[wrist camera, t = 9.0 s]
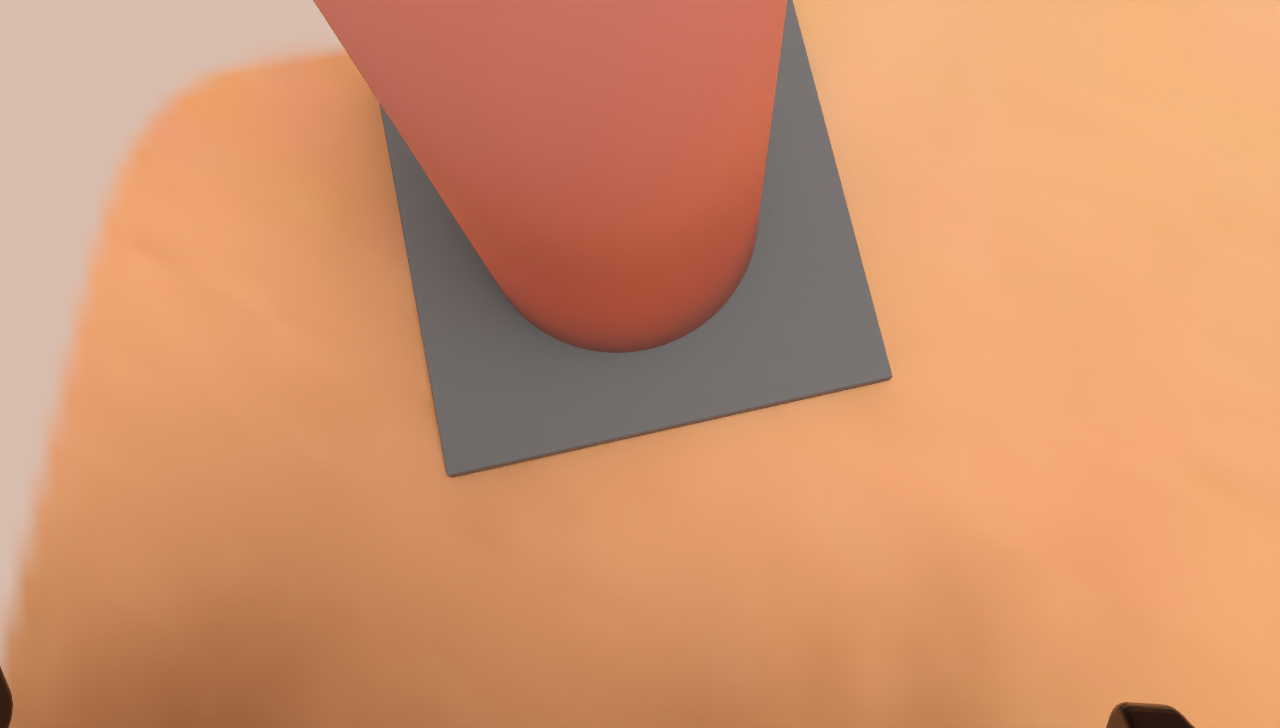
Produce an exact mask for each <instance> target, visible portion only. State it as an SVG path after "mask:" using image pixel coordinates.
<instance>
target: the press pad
mask: <svg viewBox="0 0 1280 728" xmlns="http://www.w3.org/2000/svg"><path fill="white" fill-rule="evenodd" d="M380 106H381V112H382V117H383V123H384V128H385V134H386V139H387V145H388V150H389V156H390V161H391V167H392V173H393V178H394V184H395V189H396V195H397V200H398V206H399V211H400V217H401V222H402V228H403V233H404V239H405V244H406V250H407V255H408V261H409V266H410V272H411V277H412V283H413V288H414V294H415V299H416V305H417V311H418V316H419V322H420V327H421V333H422V338H423V344H424V349H425V355H426V360H427V366H428V371H429V377H430V382H431V388H432V393H433V399H434V404H435V410H436V415H437V421H438V426H439V432H440V437H441V443H442V449H443V454H444V460H445V465H446V471H447V475H448V476H450V477H456V476H460V475H465V474H469V473H474V472H478V471H483V470H487V469H492V468H496V467H501V466H505V465H510V464H514V463H519V462H523V461H528V460H532V459H537V458H541V457H546V456H550V455H555V454H559V453H564V452H568V451H573V450H577V449H582V448H586V447H591V446H595V445H600V444H604V443H609V442H613V441H618V440H622V439H627V438H631V437H636V436H640V435H645V434H649V433H654V432H658V431H663V430H667V429H672V428H676V427H681V426H685V425H690V424H694V423H699V422H703V421H708V420H712V419H717V418H721V417H726V416H730V415H735V414H739V413H744V412H748V411H753V410H757V409H762V408H766V407H771V406H775V405H780V404H784V403H788V402H793V401H797V400H802V399H806V398H811V397H815V396H820V395H824V394H829V393H833V392H838V391H842V390H847V389H851V388H856V387H860V386H865V385H869V384H874V383H878V382H883V381H887V380H890V379H891V377H892V374H891V370H890V366H889V362H888V359H887V355H886V351H885V347H884V343H883V340H882V336H881V332H880V328H879V325H878V321H877V317H876V313H875V310H874V306H873V302H872V298H871V295H870V291H869V287H868V283H867V280H866V276H865V272H864V268H863V264H862V261H861V257H860V253H859V249H858V246H857V242H856V238H855V234H854V231H853V227H852V223H851V219H850V216H849V212H848V208H847V204H846V200H845V197H844V193H843V189H842V185H841V182H840V178H839V174H838V170H837V167H836V163H835V159H834V155H833V152H832V148H831V144H830V140H829V136H828V133H827V129H826V125H825V121H824V118H823V114H822V110H821V106H820V103H819V99H818V95H817V91H816V88H815V84H814V80H813V76H812V73H811V69H810V65H809V61H808V57H807V54H806V50H805V46H804V42H803V39H802V35H801V31H800V27H799V24H798V20H797V16H796V12H795V9H794V5H793V1H792V0H787V7H786V14H785V22H784V30H783V37H782V45H781V53H780V60H779V68H778V75H777V83H776V91H775V98H774V106H773V114H772V121H771V129H770V136H769V144H768V152H767V159H766V167H765V175H764V182H763V190H762V197H761V205H760V213H759V220H758V228H757V236H756V241H755V246H754V250H753V254H752V257H751V260H750V263H749V265H748V268H747V270H746V273H745V275H744V277H743V278H742V280H741V282H740V284H739V286H738V287H737V289H736V290H735V292H734V293H733V294H732V296H731V297H730V298H729V300H728V301H727V302H726V304H725V305H724V306H723V307H722V308H721V309H720V310H719V311H718V312H717V313H716V314H715V315H714V316H713V317H712V318H710V319H709V320H708V321H707V322H705V323H704V324H703V325H702V326H700V327H699V328H697V329H696V330H694V331H692V332H691V333H689V334H687V335H686V336H684V337H682V338H680V339H677V340H675V341H673V342H670V343H668V344H666V345H662V346H659V347H655V348H652V349H648V350H642V351H636V352H624V353H609V352H599V351H592V350H587V349H583V348H579V347H575V346H572V345H570V344H567V343H564V342H562V341H559V340H557V339H555V338H554V337H552V336H550V335H548V334H546V333H544V332H543V331H541V330H540V329H538V328H537V327H536V326H534V325H533V324H532V323H530V322H529V321H528V320H527V319H526V318H525V317H524V316H522V315H521V314H520V313H519V312H518V311H517V310H516V309H515V307H514V306H513V305H512V304H511V302H510V301H509V300H508V299H507V297H506V296H505V295H504V293H503V292H502V290H501V289H500V287H499V286H498V284H497V282H496V281H495V279H494V278H493V276H492V275H491V273H490V272H489V270H488V269H487V267H486V265H485V264H484V262H483V261H482V259H481V258H480V256H479V255H478V253H477V252H476V250H475V249H474V247H473V245H472V244H471V242H470V241H469V239H468V238H467V236H466V235H465V233H464V232H463V230H462V229H461V227H460V225H459V224H458V222H457V221H456V219H455V218H454V216H453V215H452V213H451V212H450V210H449V209H448V207H447V205H446V204H445V202H444V201H443V199H442V198H441V196H440V195H439V193H438V192H437V190H436V188H435V187H434V185H433V184H432V182H431V181H430V179H429V178H428V176H427V175H426V173H425V172H424V170H423V168H422V167H421V165H420V164H419V162H418V161H417V159H416V158H415V156H414V155H413V153H412V152H411V150H410V148H409V147H408V145H407V144H406V142H405V141H404V139H403V138H402V136H401V135H400V133H399V132H398V130H397V128H396V127H395V125H394V124H393V122H392V121H391V119H390V118H389V116H388V115H387V113H386V111H385V110H384V108H383V107H382V105H381V104H380Z"/></svg>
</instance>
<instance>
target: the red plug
mask: <svg viewBox="0 0 1280 728" xmlns="http://www.w3.org/2000/svg"><path fill="white" fill-rule="evenodd" d="M313 1H314V2H315V4H316V5H317V7H318V8H319V10H320V11H321V13H322V14H323V16H324V18H325V19H326V21H327V22H328V24H329V25H330V27H331V28H332V30H333V31H334V33H335V34H336V36H337V38H338V39H339V41H340V42H341V44H342V45H343V47H344V48H345V50H346V51H347V53H348V55H349V56H350V58H351V59H352V61H353V62H354V64H355V65H356V67H357V68H358V70H359V71H360V73H361V75H362V76H363V78H364V79H365V81H366V82H367V84H368V85H369V87H370V88H371V90H372V91H373V93H374V95H375V96H376V98H377V99H378V101H379V102H380V104H381V105H382V107H383V108H384V110H385V111H386V113H387V115H388V116H389V118H390V119H391V121H392V122H393V124H394V125H395V127H396V128H397V130H398V132H399V133H400V135H401V136H402V138H403V139H404V141H405V142H406V144H407V145H408V147H409V148H410V150H411V152H412V153H413V155H414V156H415V158H416V159H417V161H418V162H419V164H420V165H421V167H422V168H423V170H424V172H425V173H426V175H427V176H428V178H429V179H430V181H431V182H432V184H433V185H434V187H435V188H436V190H437V192H438V193H439V195H440V196H441V198H442V199H443V201H444V202H445V204H446V205H447V207H448V209H449V210H450V212H451V213H452V215H453V216H454V218H455V219H456V221H457V222H458V224H459V225H460V227H461V229H462V230H463V232H464V233H465V235H466V236H467V238H468V239H469V241H470V242H471V244H472V245H473V247H474V249H475V250H476V252H477V253H478V255H479V256H480V258H481V259H482V261H483V262H484V264H485V265H486V267H487V269H488V270H489V272H490V273H491V275H492V276H493V278H494V279H495V281H496V282H497V284H498V286H499V287H500V289H501V290H502V292H503V293H504V295H505V296H506V297H507V299H508V300H509V301H510V302H511V304H512V305H513V306H514V307H515V309H516V310H517V311H518V312H519V313H520V314H521V315H522V316H524V317H525V318H526V319H527V320H528V321H529V322H530V323H532V324H533V325H534V326H536V327H537V328H538V329H540V330H541V331H543V332H544V333H546V334H548V335H550V336H552V337H554V338H555V339H557V340H559V341H562V342H564V343H567V344H570V345H572V346H575V347H579V348H583V349H587V350H592V351H599V352H609V353H624V352H636V351H642V350H648V349H652V348H655V347H659V346H662V345H666V344H668V343H670V342H673V341H675V340H677V339H680V338H682V337H684V336H686V335H687V334H689V333H691V332H692V331H694V330H696V329H697V328H699V327H700V326H702V325H703V324H704V323H705V322H707V321H708V320H709V319H710V318H712V317H713V316H714V315H715V314H716V313H717V312H718V311H719V310H720V309H721V308H722V307H723V306H724V305H725V304H726V302H727V301H728V300H729V298H730V297H731V296H732V294H733V293H734V292H735V290H736V289H737V287H738V286H739V284H740V282H741V280H742V278H743V277H744V275H745V273H746V270H747V268H748V265H749V263H750V260H751V257H752V254H753V250H754V246H755V241H756V236H757V228H758V220H759V213H760V205H761V197H762V190H763V182H764V175H765V167H766V159H767V152H768V144H769V136H770V129H771V121H772V114H773V106H774V98H775V91H776V83H777V75H778V68H779V60H780V53H781V45H782V37H783V30H784V22H785V14H786V7H787V0H313Z"/></svg>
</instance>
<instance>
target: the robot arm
mask: <svg viewBox="0 0 1280 728" xmlns="http://www.w3.org/2000/svg"><path fill="white" fill-rule="evenodd" d="M12 708H13V702H12V695H11V691H10V689H9V686H8V684H7V681H6V679H5V677H4V674H3V672H2V669H1V667H0V728H8V727H9V724H10V721H11V716H12ZM1106 728H1195V727H1194V726H1193V725H1192V724H1191V723H1190V722H1189V721H1188V720H1187V719H1186V718H1185V717H1184V716H1183V715H1182V714H1181V713H1180V712H1179V711H1177V710H1176V709H1174V708H1173V707H1170V706H1168V705H1162V704H1147V703H1132V702H1123V703H1119V704H1118V705H1116V706H1115V708H1114V709H1113V710H1112V712H1111V715H1110V717H1109V721H1108V724H1107V727H1106Z"/></svg>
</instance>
